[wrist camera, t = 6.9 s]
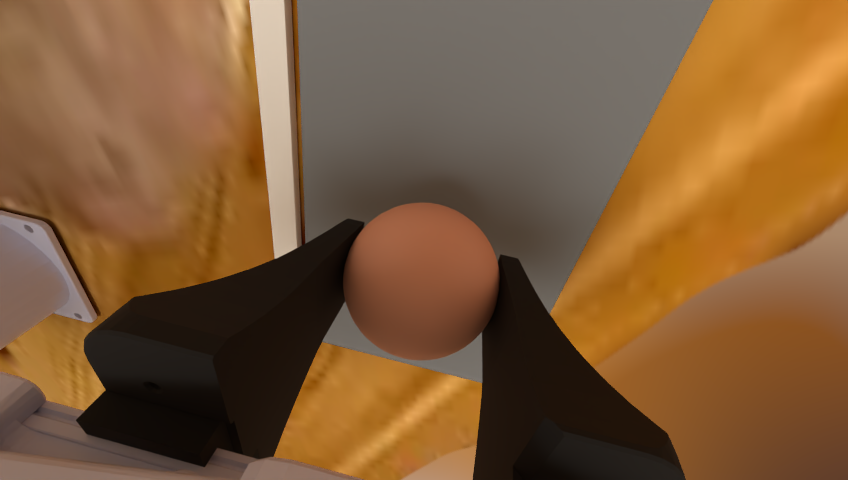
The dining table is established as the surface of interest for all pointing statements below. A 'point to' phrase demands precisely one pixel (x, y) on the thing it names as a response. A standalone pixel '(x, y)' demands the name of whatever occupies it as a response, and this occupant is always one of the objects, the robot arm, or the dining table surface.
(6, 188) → the dining table surface
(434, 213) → the ball
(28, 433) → the robot arm
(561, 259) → the mat
